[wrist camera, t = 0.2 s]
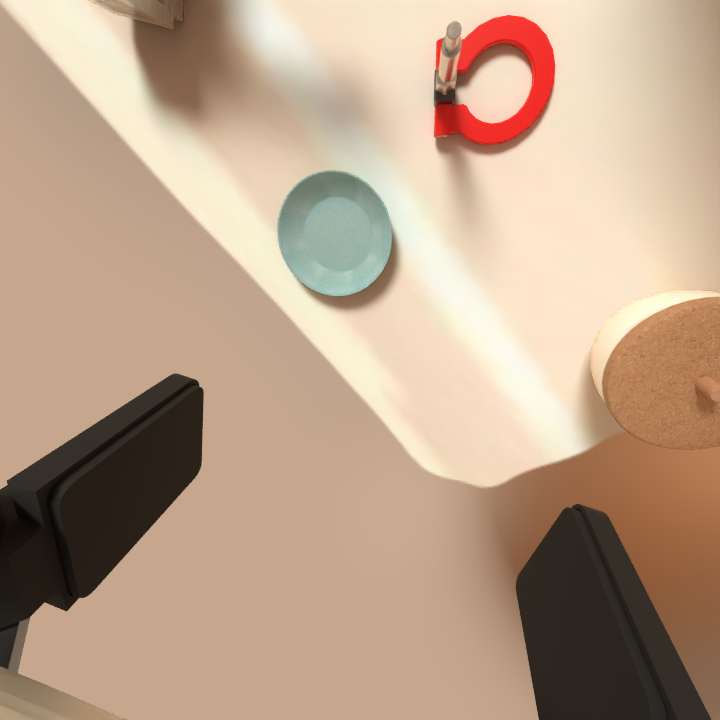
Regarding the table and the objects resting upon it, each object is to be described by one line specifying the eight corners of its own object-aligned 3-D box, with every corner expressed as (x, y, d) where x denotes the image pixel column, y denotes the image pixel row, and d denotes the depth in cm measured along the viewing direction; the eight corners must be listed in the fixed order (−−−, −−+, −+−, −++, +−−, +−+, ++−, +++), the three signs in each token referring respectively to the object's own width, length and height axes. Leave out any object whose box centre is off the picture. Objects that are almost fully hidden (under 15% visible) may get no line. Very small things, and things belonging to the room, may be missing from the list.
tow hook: (558, 14, 28) (435, 31, 29) (654, -119, 16) (441, -79, 18) (542, 141, 31) (432, 150, 33) (611, 108, 19) (436, 124, 21)
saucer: (343, 312, 41) (337, 318, 39) (265, 237, 39) (255, 239, 37) (419, 233, 36) (417, 235, 34) (333, 143, 34) (326, 139, 32)
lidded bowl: (738, 368, 34) (854, 437, 25) (594, 412, 39) (644, 484, 29) (705, 248, 31) (825, 272, 21) (553, 311, 36) (593, 354, 26)
